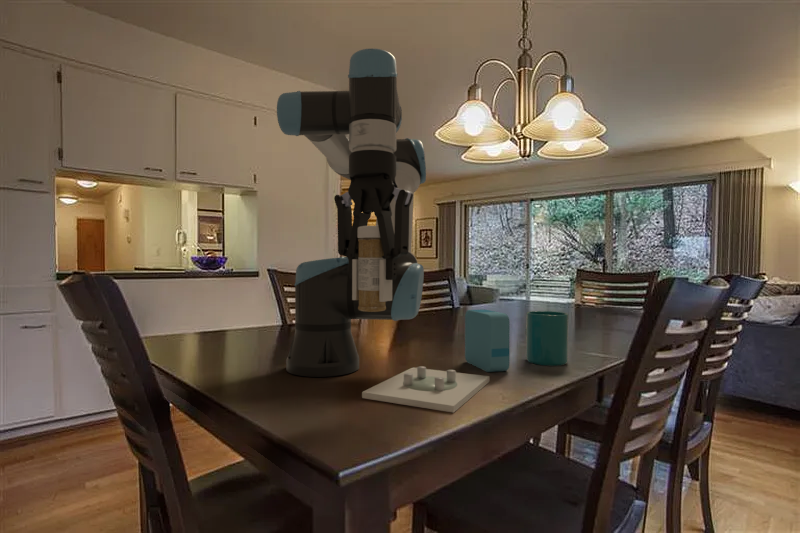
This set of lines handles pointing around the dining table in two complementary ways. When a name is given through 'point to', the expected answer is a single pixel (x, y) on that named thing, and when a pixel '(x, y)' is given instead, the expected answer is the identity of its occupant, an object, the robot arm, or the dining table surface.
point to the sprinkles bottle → (369, 269)
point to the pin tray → (428, 388)
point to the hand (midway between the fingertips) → (372, 299)
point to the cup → (547, 338)
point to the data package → (487, 340)
